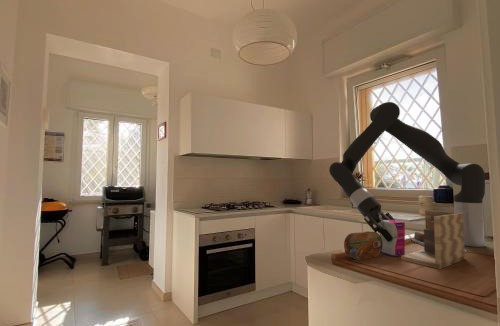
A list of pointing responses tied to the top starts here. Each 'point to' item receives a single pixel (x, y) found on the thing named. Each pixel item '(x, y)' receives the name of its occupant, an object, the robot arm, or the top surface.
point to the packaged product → (421, 238)
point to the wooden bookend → (440, 240)
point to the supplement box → (394, 238)
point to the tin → (363, 245)
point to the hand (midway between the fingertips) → (396, 239)
